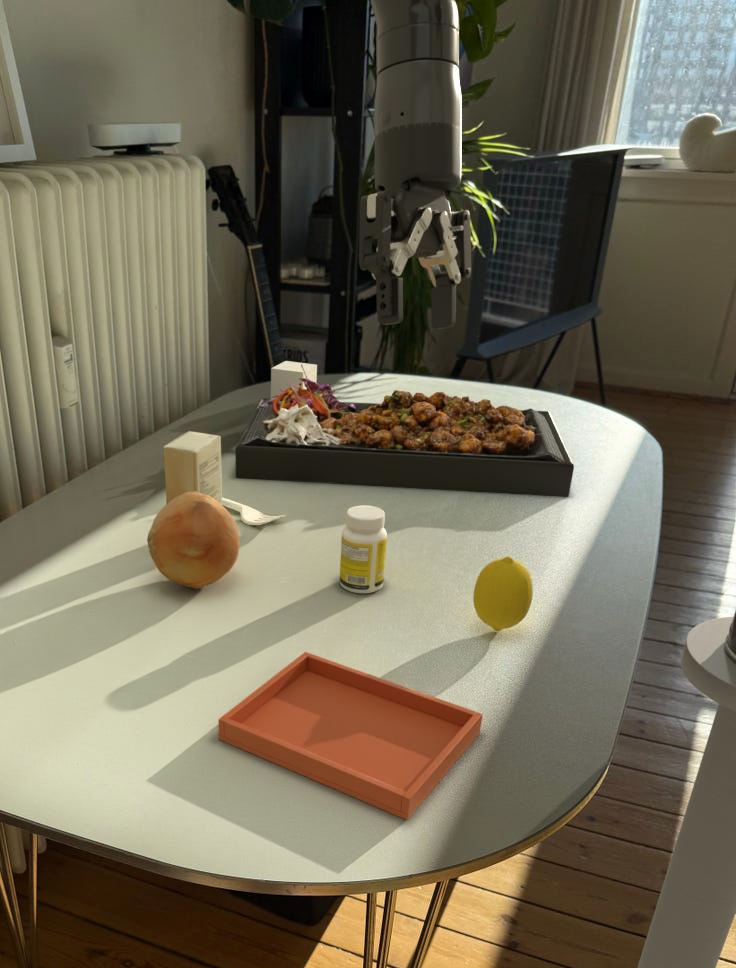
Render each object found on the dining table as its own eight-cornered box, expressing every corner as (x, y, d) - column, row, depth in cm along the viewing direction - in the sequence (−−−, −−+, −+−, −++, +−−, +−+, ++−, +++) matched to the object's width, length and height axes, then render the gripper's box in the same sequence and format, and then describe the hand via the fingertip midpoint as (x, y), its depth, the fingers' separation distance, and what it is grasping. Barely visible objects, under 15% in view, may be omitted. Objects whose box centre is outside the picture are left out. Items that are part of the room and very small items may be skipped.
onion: (134, 575, 102) (129, 489, 97) (214, 556, 107) (212, 473, 102) (173, 611, 95) (169, 520, 90) (257, 589, 100) (257, 501, 95)
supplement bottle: (371, 572, 103) (376, 501, 99) (390, 590, 100) (397, 517, 95) (331, 578, 102) (335, 507, 98) (350, 597, 98) (355, 523, 94)
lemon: (477, 612, 95) (487, 541, 91) (531, 625, 93) (544, 552, 89) (461, 636, 91) (471, 562, 87) (518, 649, 89) (531, 574, 85)
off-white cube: (315, 399, 164) (317, 364, 161) (302, 407, 159) (303, 372, 156) (284, 394, 166) (285, 360, 163) (270, 403, 162) (271, 368, 159)
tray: (479, 733, 77) (483, 713, 76) (407, 820, 68) (409, 799, 67) (304, 670, 86) (305, 651, 85) (218, 739, 76) (218, 719, 75)
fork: (184, 485, 127) (183, 471, 126) (290, 527, 114) (290, 512, 113) (165, 490, 125) (165, 477, 124) (271, 534, 112) (271, 519, 111)
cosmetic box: (192, 526, 114) (189, 429, 108) (224, 533, 113) (223, 434, 106) (166, 546, 109) (161, 445, 103) (198, 553, 108) (195, 450, 101)
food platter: (235, 477, 129) (235, 404, 124) (259, 425, 150) (260, 360, 145) (568, 496, 124) (582, 420, 119) (545, 439, 145) (556, 372, 140)
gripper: (406, 103, 74) (407, 318, 78) (497, 136, 84) (494, 325, 88) (332, 127, 79) (337, 327, 83) (427, 155, 89) (427, 332, 93)
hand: (417, 326), depth 85 cm, fingers open, 8 cm apart
